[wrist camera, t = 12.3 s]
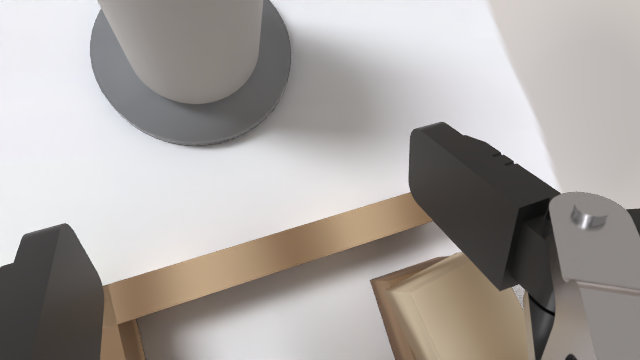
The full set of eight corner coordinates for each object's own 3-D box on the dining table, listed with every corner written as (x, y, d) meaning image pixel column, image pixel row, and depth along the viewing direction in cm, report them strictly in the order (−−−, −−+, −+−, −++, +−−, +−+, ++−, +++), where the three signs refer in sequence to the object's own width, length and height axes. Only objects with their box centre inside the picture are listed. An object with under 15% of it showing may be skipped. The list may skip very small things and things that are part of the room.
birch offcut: (444, 420, 18) (482, 447, 15) (384, 290, 19) (410, 293, 16) (515, 374, 19) (564, 391, 16) (456, 252, 20) (492, 249, 17)
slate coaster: (120, 167, 21) (115, 163, 20) (76, -11, 22) (70, -21, 22) (311, 120, 23) (314, 115, 22) (260, -38, 25) (261, -48, 24)
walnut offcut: (406, 397, 21) (432, 417, 18) (369, 279, 22) (388, 281, 19) (474, 369, 22) (510, 383, 19) (436, 257, 23) (464, 255, 20)
